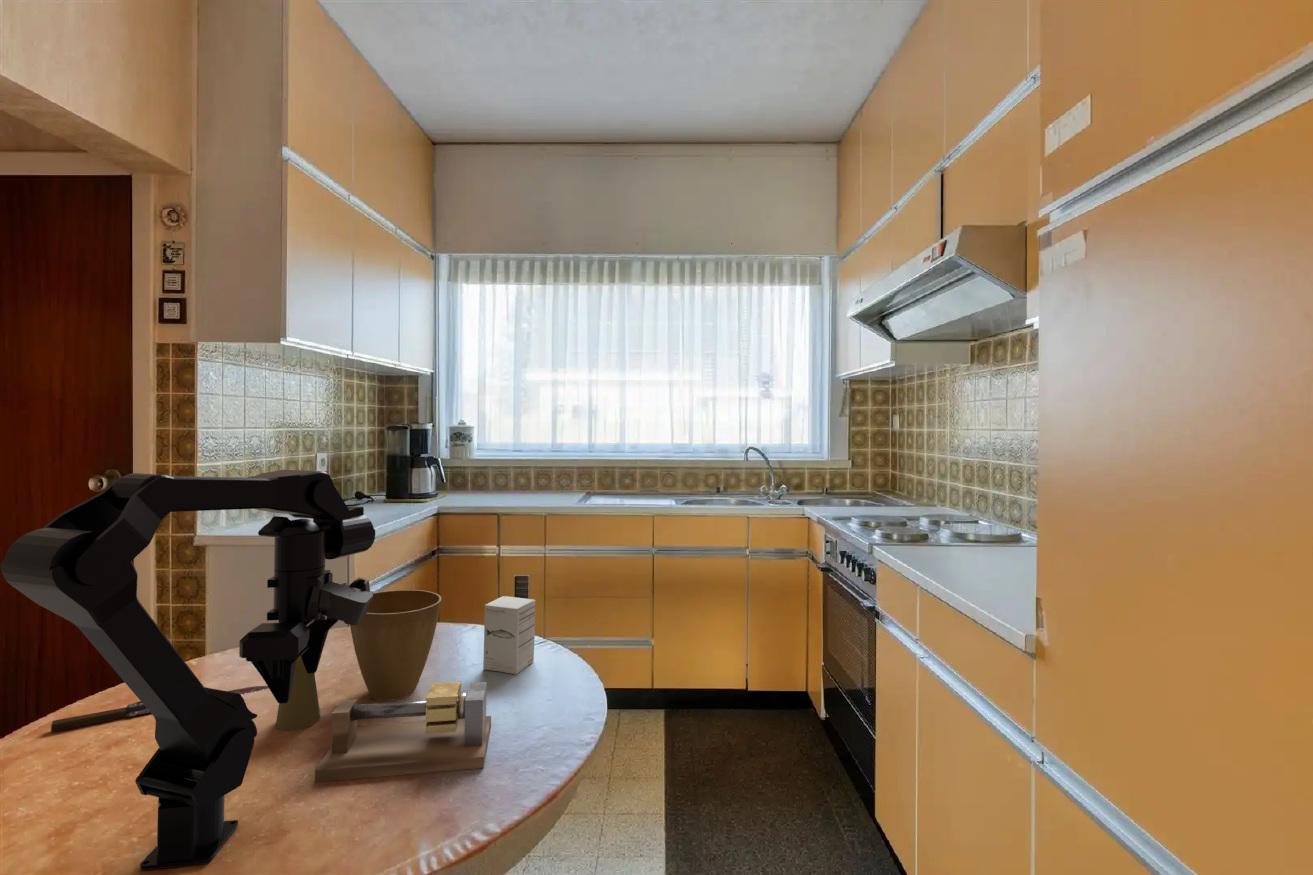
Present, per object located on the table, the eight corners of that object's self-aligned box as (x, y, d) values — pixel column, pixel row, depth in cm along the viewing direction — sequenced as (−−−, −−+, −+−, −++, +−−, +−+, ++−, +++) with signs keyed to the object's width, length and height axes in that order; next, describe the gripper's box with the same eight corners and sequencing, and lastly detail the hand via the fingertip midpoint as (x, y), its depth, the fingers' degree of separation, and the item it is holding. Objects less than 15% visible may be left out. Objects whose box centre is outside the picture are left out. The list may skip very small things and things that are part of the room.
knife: (288, 682, 106) (49, 726, 88) (287, 691, 107) (49, 738, 88) (286, 673, 108) (52, 715, 90) (285, 682, 109) (52, 726, 90)
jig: (483, 767, 81) (484, 716, 81) (314, 781, 77) (315, 727, 77) (491, 725, 93) (491, 680, 93) (344, 735, 89) (345, 688, 89)
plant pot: (336, 715, 95) (338, 615, 95) (356, 678, 110) (358, 591, 110) (435, 706, 99) (437, 609, 99) (442, 671, 114) (444, 587, 114)
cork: (299, 732, 90) (301, 659, 90) (265, 727, 91) (266, 655, 91) (329, 714, 96) (330, 645, 96) (296, 710, 97) (298, 642, 97)
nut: (455, 731, 84) (456, 696, 84) (425, 733, 83) (426, 697, 83) (460, 715, 89) (460, 681, 89) (431, 717, 88) (432, 683, 88)
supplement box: (481, 670, 114) (483, 604, 114) (502, 656, 122) (503, 594, 122) (516, 675, 112) (517, 608, 112) (535, 661, 119) (536, 598, 119)
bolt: (482, 745, 84) (482, 699, 84) (337, 756, 81) (337, 708, 81) (486, 725, 90) (486, 681, 90) (351, 734, 87) (351, 689, 87)
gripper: (343, 582, 70) (342, 716, 70) (384, 551, 88) (383, 657, 89) (237, 585, 68) (235, 722, 68) (302, 553, 86) (300, 661, 86)
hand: (298, 686), depth 78 cm, fingers open, 9 cm apart
